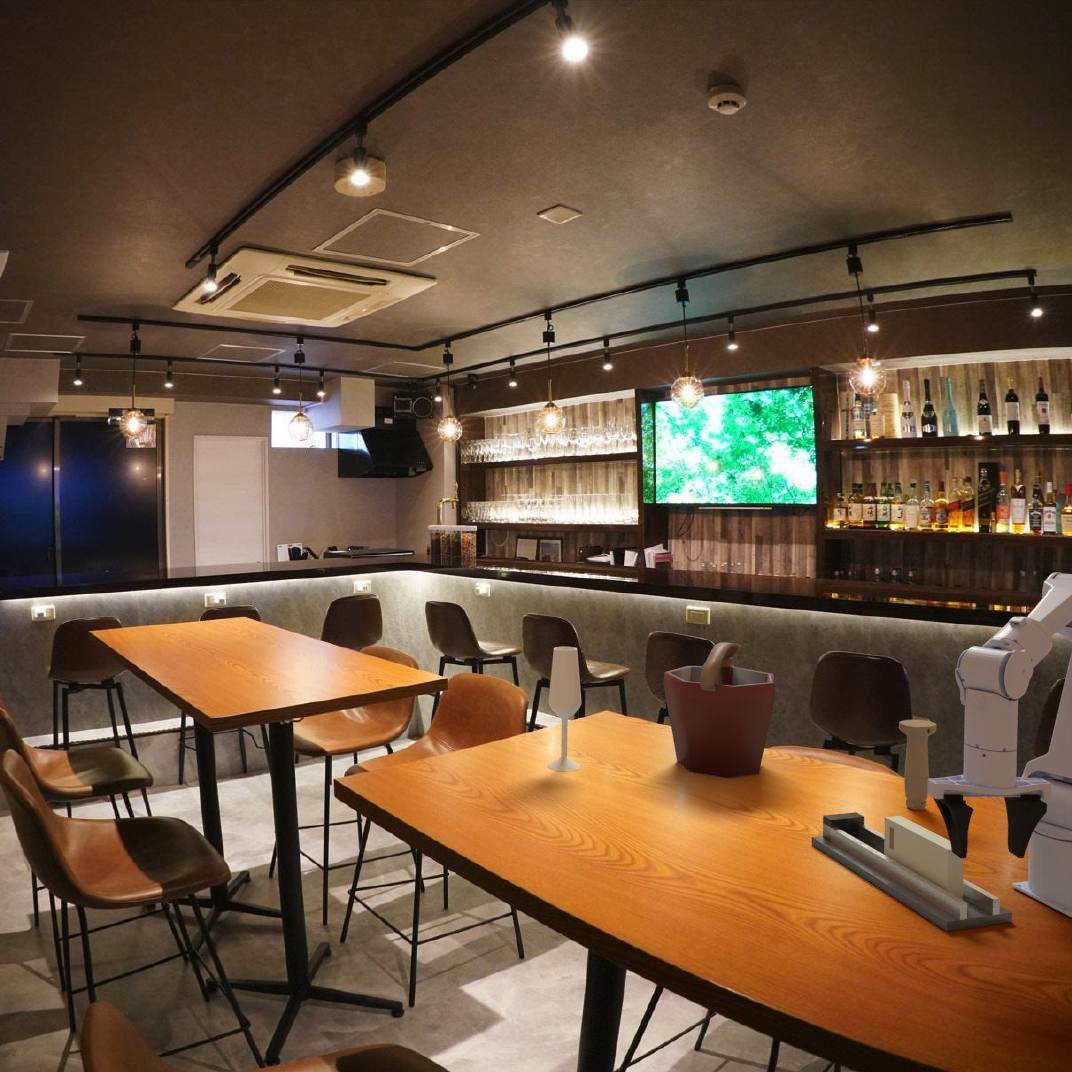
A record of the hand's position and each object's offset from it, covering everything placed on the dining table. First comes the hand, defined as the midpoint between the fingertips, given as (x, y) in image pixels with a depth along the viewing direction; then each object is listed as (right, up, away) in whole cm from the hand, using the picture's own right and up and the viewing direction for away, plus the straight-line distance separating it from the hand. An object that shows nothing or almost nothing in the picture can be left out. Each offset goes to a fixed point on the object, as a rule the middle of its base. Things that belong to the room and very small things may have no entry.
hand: (987, 855), depth 102 cm
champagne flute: (-50, -8, +66) cm, 83 cm away
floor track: (-4, -9, +15) cm, 18 cm away
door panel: (-3, -8, +11) cm, 14 cm away
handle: (+11, -9, +44) cm, 46 cm away
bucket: (-17, -8, +68) cm, 71 cm away
